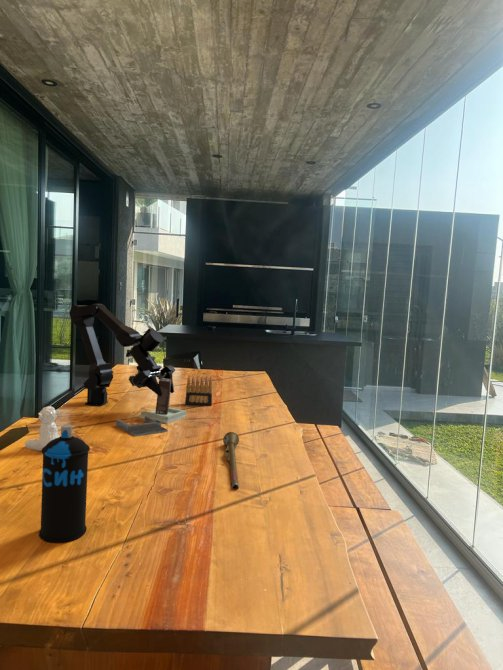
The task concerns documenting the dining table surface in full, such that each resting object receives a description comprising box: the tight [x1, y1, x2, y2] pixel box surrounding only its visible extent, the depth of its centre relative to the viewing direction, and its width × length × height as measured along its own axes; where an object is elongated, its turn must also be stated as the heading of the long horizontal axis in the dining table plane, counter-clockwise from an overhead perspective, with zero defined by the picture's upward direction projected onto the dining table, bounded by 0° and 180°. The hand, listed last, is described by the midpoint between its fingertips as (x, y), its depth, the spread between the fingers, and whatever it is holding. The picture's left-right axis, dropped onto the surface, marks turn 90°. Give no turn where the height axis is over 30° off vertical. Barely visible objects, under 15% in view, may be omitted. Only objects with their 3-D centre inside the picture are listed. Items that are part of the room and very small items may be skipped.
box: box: [155, 378, 173, 415], centre depth 174 cm, size 6×4×12 cm
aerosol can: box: [38, 424, 91, 544], centre depth 89 cm, size 8×8×20 cm
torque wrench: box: [223, 431, 240, 490], centre depth 132 cm, size 5×35×5 cm
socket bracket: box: [115, 416, 169, 437], centre depth 159 cm, size 14×12×2 cm
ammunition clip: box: [184, 374, 213, 407], centre depth 197 cm, size 11×2×12 cm, turn 96°
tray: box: [138, 407, 187, 425], centre depth 174 cm, size 12×12×2 cm
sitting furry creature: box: [24, 405, 61, 452], centre depth 134 cm, size 10×9×12 cm
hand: (167, 394), depth 173 cm, fingers closed on box, 7 cm apart
